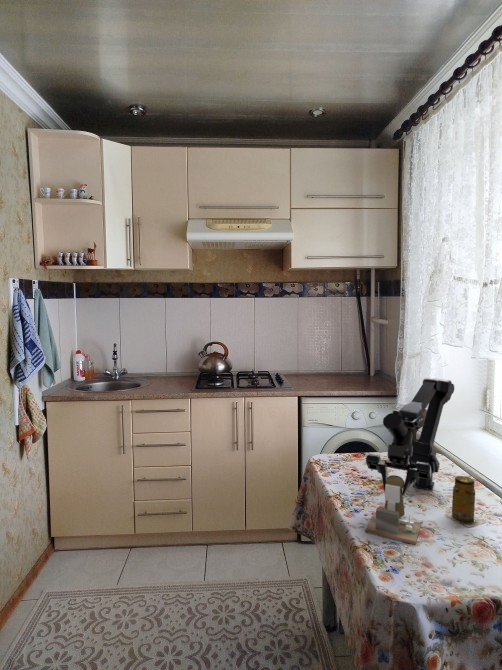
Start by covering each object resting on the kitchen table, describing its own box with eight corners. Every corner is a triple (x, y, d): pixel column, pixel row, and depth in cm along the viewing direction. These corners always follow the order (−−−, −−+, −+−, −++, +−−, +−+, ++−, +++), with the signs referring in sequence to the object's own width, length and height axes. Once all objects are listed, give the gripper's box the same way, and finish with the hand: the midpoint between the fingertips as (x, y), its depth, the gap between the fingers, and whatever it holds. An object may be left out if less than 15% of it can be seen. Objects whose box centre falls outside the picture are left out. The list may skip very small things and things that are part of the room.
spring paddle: (385, 516, 134) (386, 483, 133) (414, 522, 130) (415, 489, 129) (383, 519, 132) (384, 486, 131) (413, 526, 128) (414, 492, 127)
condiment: (461, 510, 140) (463, 472, 139) (485, 522, 133) (488, 483, 131) (444, 515, 137) (446, 477, 136) (468, 528, 129) (470, 488, 128)
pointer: (406, 528, 127) (406, 512, 127) (412, 529, 127) (412, 513, 126) (405, 529, 126) (406, 513, 126) (411, 531, 126) (412, 515, 125)
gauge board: (374, 515, 137) (374, 495, 136) (421, 525, 131) (421, 504, 130) (365, 531, 127) (365, 510, 127) (415, 544, 121) (416, 522, 120)
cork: (406, 518, 132) (407, 481, 131) (384, 516, 133) (385, 480, 132) (403, 508, 138) (404, 473, 137) (382, 506, 139) (383, 472, 138)
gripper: (367, 428, 141) (357, 475, 132) (431, 437, 132) (425, 488, 124) (372, 445, 149) (364, 490, 140) (433, 454, 140) (428, 503, 131)
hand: (393, 493), depth 134 cm, fingers closed on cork, 5 cm apart
